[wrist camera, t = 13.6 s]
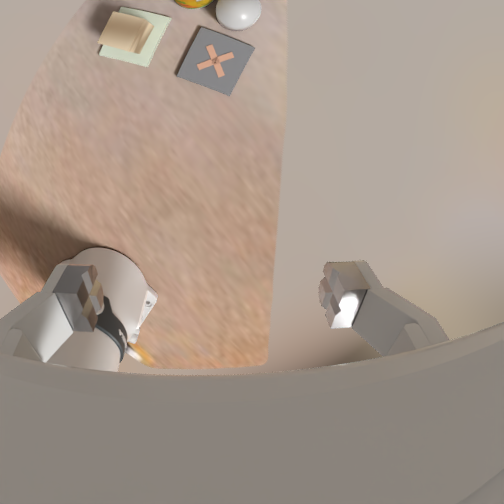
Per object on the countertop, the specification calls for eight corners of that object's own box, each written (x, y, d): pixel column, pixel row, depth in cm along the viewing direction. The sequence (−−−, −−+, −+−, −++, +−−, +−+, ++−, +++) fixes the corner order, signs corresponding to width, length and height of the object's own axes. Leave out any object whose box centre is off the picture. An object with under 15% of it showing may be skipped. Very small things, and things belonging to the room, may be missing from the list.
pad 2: (229, 95, 31) (229, 96, 31) (177, 76, 29) (176, 76, 28) (254, 48, 28) (255, 47, 28) (201, 27, 26) (201, 26, 25)
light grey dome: (247, 36, 27) (250, 33, 25) (209, 23, 26) (208, 18, 23) (264, 5, 25) (268, 0, 22) (226, -8, 23) (227, -15, 21)
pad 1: (148, 67, 28) (146, 67, 27) (100, 55, 25) (98, 55, 25) (171, 18, 24) (170, 17, 24) (122, 7, 22) (120, 6, 22)
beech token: (139, 54, 26) (127, 51, 22) (112, 46, 25) (97, 43, 21) (154, 26, 24) (144, 19, 20) (126, 18, 23) (113, 11, 19)
